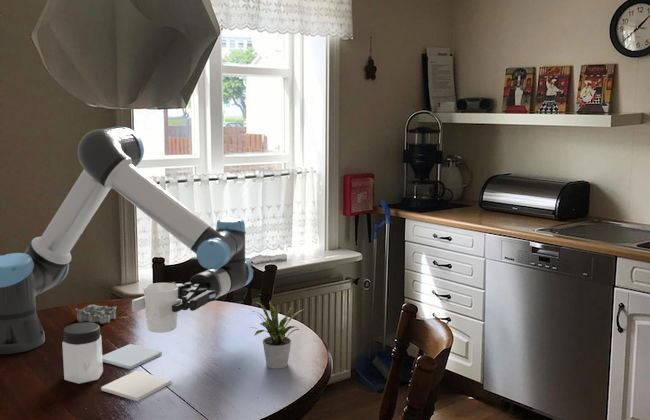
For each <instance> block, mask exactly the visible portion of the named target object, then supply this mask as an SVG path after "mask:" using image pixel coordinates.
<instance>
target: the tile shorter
mask: <svg viewBox="0 0 650 420" xmlns="http://www.w3.org/2000/svg"><path fill="white" fill-rule="evenodd" d="M171 384H172V379H169V378H165V377H161V376H157V375H154V374H151V373H147V372H144V371H140V370H134V371H132V372H130V373H128V374H126V375H124V376H123V375H122V377H119V378H118V379H115V380H113V381H111V382H109V383H106V384H104V385H102V386H101V387H100V391H102V392H106V393H109V394H113V395H115V396H119V397H122V398H125V399H129V400H131V401H134V402H140V401H141V400H143V399H144V398H147V397H149V396H151V395H152V394H154V393H156V392H159V390H160V391H161V390H162V389H164V388H166V387H167V386H169V385H171Z"/></svg>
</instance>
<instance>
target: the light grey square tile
mask: <svg viewBox="0 0 650 420" xmlns="http://www.w3.org/2000/svg"><path fill="white" fill-rule="evenodd" d="M162 354H163V352H162V351H159V350H156V349H152V348H149V347H144V346H141V345H138V344H137V345H136V344H132V343H129V344H127V345H125V346H122V347H119V348H117V349H115V350H112V351H110V352H108V353H105V354H102V359H103V363H106V364H110V365H113V366H117V367H120V368H124V369H127V370H133V369H134V368H136V367H139V366H140V365H144V364H145V363H147V362H150V361H151V360H154V359H156V358H158V357H160V356H162Z"/></svg>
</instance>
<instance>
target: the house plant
mask: <svg viewBox="0 0 650 420" xmlns="http://www.w3.org/2000/svg"><path fill="white" fill-rule="evenodd" d="M254 302H255V303H256V304H258V305H259V306H260V307H261V308H262V310H263V313H264V315H265V316H266V317H264V316H263V315H262V314H261V313H259V312H258V311H255V310H253V312H254V313H257V314H259V316H260V317H261V318H262V319H261V321H262V322H261V323H259V325H261V326H263V328H265V329H266V330H265V329H258V328H256V327H252V326H251V327H249V329H251V328H252V329H255V330H256V331H255V334H254V336H253V337H255V336H257V335H259V334H261V333H264V332H266V333H268V335H269V336H266V334H264V335H265V336H266V337H264V338H263V340H262V345H263V351H264V357H265V362H266V366H267V367H268V368H270V369H274V370H277V369H283V368H286V367H288V364H289V359H290V351H291V346H292V339H291V338H290V337H289V336H290V335H291V334H292V333H294V332H295V331H299V330H300V331H301V329H299V327H298V326H294V325H290V326H287V325H288V324H289V323H290V321H291V320H292V319H294V318H295V317H296V316H297V315H298V313H301V312H302V311H304V310H305V308H304V309H303V308H302V309H300V310H297V311H296V312H295V313H293V315H292V316H291V317H290V318H289V315H290V312H291V310H292V305H291V306H290V307H289V309H288V311H287V313H286V316H285V317H284V318H282V319H280V321H279V317H278V316H279V311H280V310H281V308H280V307H281V306H280V305H279V306H278V310H277V309H276V308H275V306H274V305H273V304H272V301H269V307H270V308H269V309H270V311H269V312H270V316H271V318H270V316H269V313H268V311H267V309H266V308H265V306H264V305H263V304H262V303H261V302H258V301H255V300H254ZM282 303H283V301H281V303H280V304H282ZM279 308H280V309H279ZM263 319H264V320H265V321H264V320H263ZM294 328H295V329H294ZM292 329H293V330H292ZM289 330H291V331H290V332H289ZM287 332H288V333H287ZM286 334H287V335H286Z"/></svg>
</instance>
